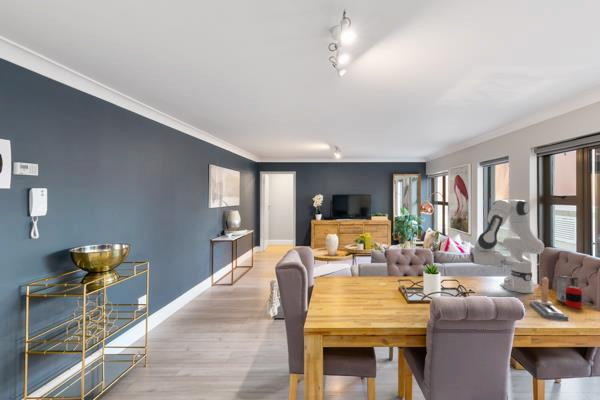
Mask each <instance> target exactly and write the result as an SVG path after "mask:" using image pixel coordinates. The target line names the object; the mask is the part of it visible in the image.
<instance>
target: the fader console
mask: <svg viewBox="0 0 600 400" xmlns="http://www.w3.org/2000/svg"><path fill="white" fill-rule="evenodd" d="M537 300H538V299H533V301H529V305H530V307H532V309H534V310H535V311H536V312H537V313H539V314H540V315H541V316H542V317H543V318H546V319H552V320H559V321H560V320H562V321H569V316H568V315H567V314H565V313H563V312H562V311H561V310H560V309H558V308H557V307H556V306H554V305H553V304H552V305H548V307H546V306H544V305H543V304H539V303H538V302H537Z"/></svg>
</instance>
